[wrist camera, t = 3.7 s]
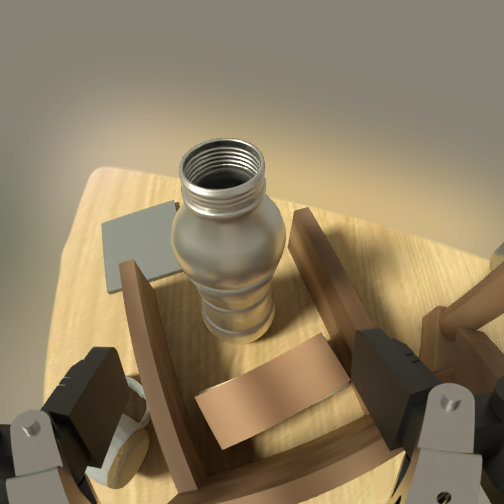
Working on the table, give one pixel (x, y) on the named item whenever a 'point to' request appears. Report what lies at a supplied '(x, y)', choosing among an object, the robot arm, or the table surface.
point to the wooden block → (466, 337)
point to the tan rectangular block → (272, 391)
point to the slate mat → (140, 244)
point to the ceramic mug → (124, 448)
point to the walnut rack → (283, 464)
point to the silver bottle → (229, 237)
